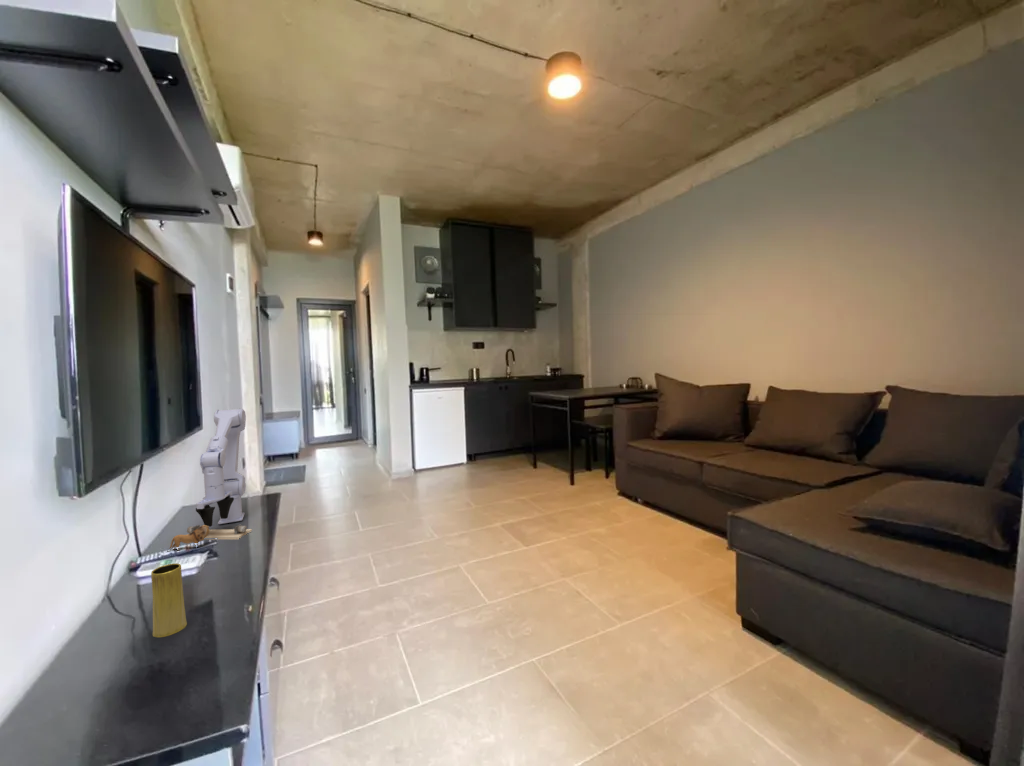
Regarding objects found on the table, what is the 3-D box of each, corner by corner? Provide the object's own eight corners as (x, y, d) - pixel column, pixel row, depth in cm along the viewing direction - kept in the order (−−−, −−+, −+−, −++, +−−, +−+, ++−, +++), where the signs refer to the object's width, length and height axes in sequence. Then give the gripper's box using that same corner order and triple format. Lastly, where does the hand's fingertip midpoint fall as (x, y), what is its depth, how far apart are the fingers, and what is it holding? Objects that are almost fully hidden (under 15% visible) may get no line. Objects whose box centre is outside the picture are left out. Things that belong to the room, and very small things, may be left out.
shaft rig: (196, 532, 155) (196, 522, 154) (252, 531, 154) (251, 522, 153) (181, 540, 148) (180, 530, 147) (238, 539, 147) (238, 529, 146)
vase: (145, 640, 92) (141, 576, 91) (163, 623, 98) (159, 564, 97) (177, 636, 93) (173, 573, 92) (192, 620, 99) (189, 560, 98)
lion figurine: (211, 543, 144) (209, 522, 144) (209, 547, 141) (208, 526, 140) (166, 551, 138) (165, 530, 138) (164, 556, 134) (162, 534, 134)
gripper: (218, 479, 157) (220, 515, 158) (187, 491, 143) (189, 530, 143) (236, 479, 157) (238, 514, 157) (207, 490, 142) (209, 529, 143)
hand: (216, 522), depth 150 cm, fingers open, 7 cm apart
